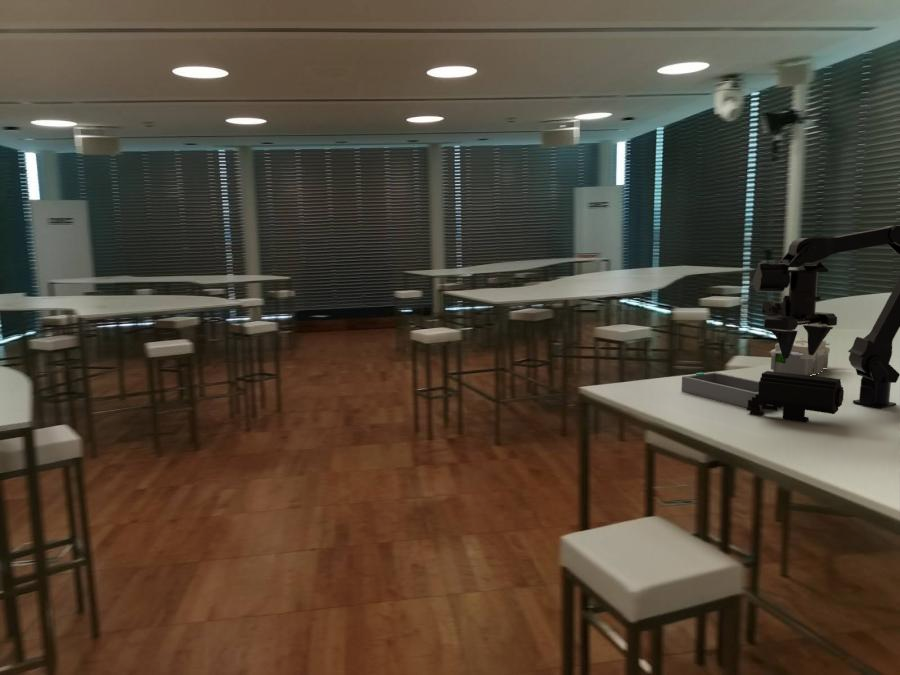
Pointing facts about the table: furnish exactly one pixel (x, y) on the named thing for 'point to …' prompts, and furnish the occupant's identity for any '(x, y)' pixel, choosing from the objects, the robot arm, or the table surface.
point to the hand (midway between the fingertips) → (798, 356)
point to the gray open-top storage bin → (721, 388)
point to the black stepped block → (796, 395)
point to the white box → (800, 358)
